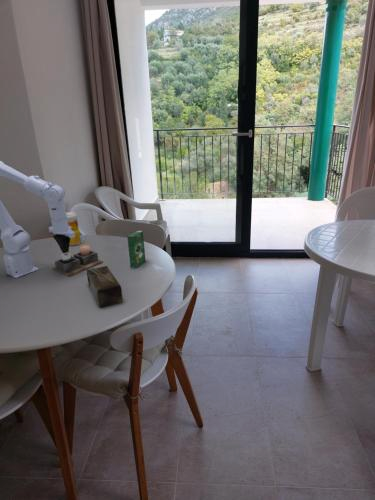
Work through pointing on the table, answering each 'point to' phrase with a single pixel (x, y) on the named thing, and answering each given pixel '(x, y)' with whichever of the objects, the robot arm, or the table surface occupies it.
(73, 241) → the beer can
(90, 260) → the socket board
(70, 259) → the aluminium plug
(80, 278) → the table surface
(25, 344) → the table surface
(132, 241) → the coffee box
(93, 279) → the beverage carton
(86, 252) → the terracotta plug
